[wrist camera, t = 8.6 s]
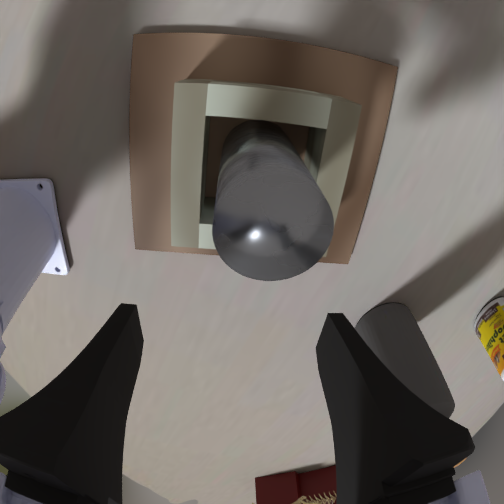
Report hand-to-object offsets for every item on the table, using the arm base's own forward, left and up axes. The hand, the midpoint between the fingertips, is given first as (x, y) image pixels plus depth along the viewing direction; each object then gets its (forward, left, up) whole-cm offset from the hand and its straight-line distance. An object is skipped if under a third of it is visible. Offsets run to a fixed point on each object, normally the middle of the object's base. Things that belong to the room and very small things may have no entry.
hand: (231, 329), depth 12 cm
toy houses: (+26, -73, -11) cm, 78 cm away
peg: (+1, +4, -10) cm, 11 cm away
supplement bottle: (+30, -9, -11) cm, 33 cm away
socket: (+1, +4, -10) cm, 11 cm away
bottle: (+15, -10, -11) cm, 21 cm away
